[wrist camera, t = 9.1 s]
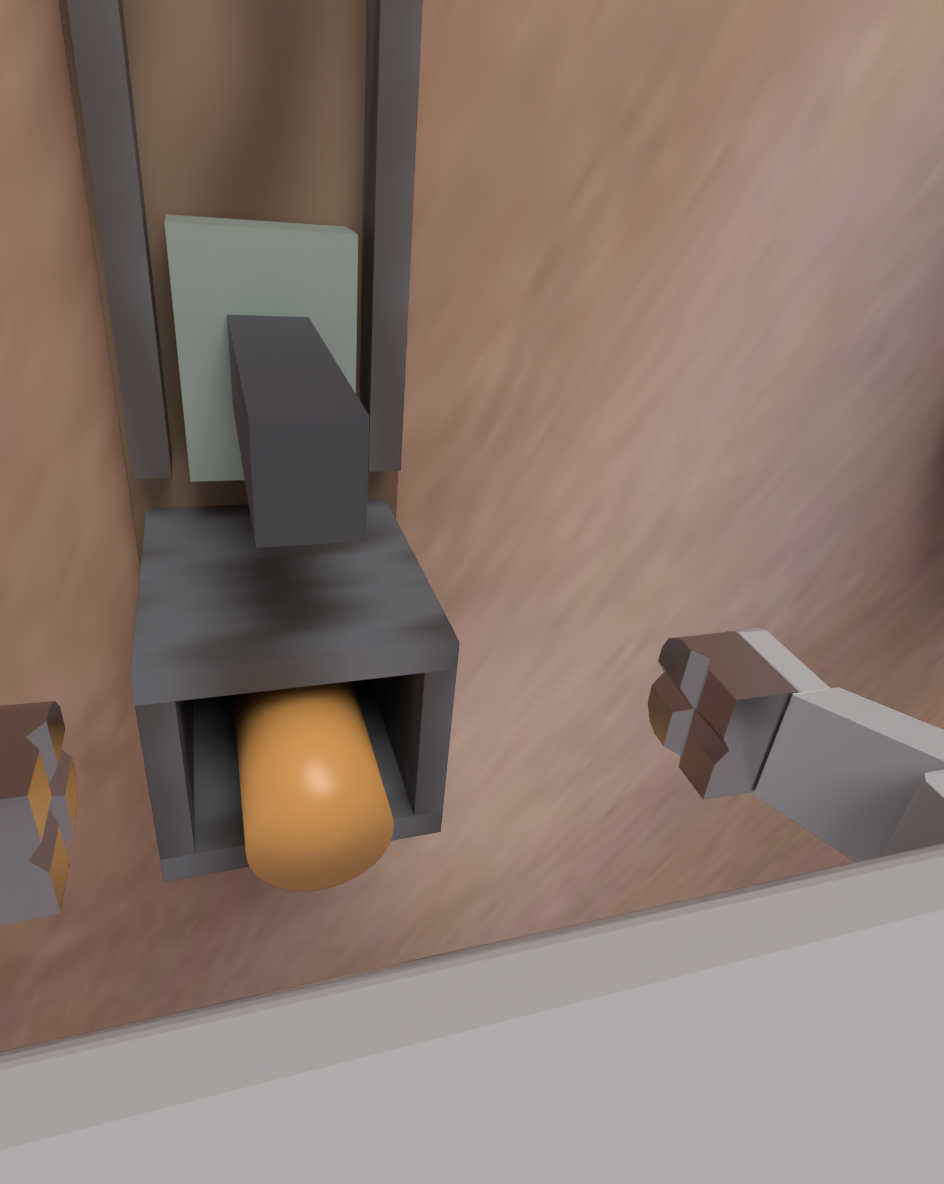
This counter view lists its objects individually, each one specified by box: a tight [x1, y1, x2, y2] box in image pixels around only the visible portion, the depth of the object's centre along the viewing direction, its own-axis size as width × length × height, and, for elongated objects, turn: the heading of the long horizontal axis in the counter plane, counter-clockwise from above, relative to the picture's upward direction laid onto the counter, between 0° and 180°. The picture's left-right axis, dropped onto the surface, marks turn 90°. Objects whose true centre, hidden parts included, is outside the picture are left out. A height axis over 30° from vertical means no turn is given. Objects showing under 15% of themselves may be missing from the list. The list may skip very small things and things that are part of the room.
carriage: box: [164, 214, 369, 548], centre depth 22 cm, size 6×8×12 cm
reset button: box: [234, 681, 394, 891], centre depth 23 cm, size 4×4×6 cm
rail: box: [59, 0, 459, 882], centre depth 22 cm, size 10×32×12 cm, turn 175°
